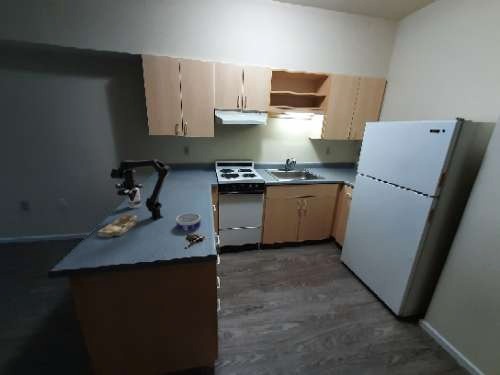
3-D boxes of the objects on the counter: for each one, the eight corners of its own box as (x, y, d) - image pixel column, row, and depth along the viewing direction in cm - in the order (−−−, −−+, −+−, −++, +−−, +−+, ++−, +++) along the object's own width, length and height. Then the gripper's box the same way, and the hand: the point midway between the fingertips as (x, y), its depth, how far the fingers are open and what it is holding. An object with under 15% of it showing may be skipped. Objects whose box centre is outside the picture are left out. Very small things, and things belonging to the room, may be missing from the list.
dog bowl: (176, 232, 131) (175, 224, 130) (177, 221, 145) (176, 213, 144) (201, 230, 136) (201, 221, 134) (200, 219, 150) (199, 211, 148)
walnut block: (126, 219, 146) (125, 214, 144) (132, 219, 145) (131, 214, 144) (120, 223, 140) (119, 217, 139) (126, 223, 140) (125, 218, 138)
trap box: (126, 218, 148) (125, 214, 147) (142, 219, 147) (141, 215, 146) (98, 236, 125) (97, 231, 124) (117, 238, 124) (116, 233, 123)
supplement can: (130, 205, 170) (127, 187, 165) (141, 204, 173) (139, 186, 168) (128, 209, 162) (125, 190, 158) (140, 208, 165) (138, 189, 161)
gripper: (127, 175, 152) (130, 195, 157) (107, 182, 134) (111, 205, 139) (141, 176, 151) (144, 196, 156) (123, 183, 133) (127, 206, 138)
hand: (132, 200), depth 147 cm, fingers closed
